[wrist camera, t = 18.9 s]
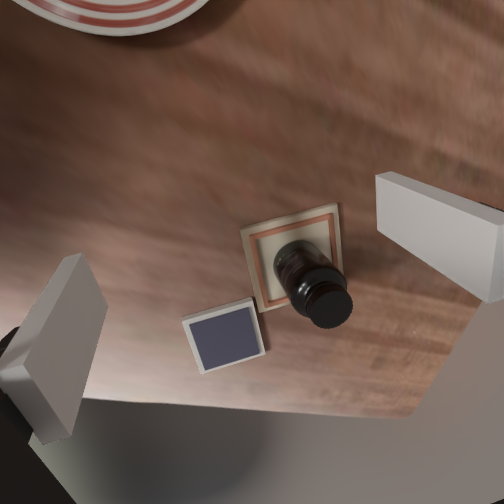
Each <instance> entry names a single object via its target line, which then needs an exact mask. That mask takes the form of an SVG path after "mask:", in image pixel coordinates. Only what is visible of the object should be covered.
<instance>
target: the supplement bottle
mask: <svg viewBox="0 0 504 504" xmlns="http://www.w3.org/2000/svg"><path fill="white" fill-rule="evenodd" d="M273 270H274V274H275V276H276V278H277V280H278V282H279V283H280V285H281V287H282V289H283V290H284V292H285V294H286V296H287V297H288V299H289V301H290V303H291V304H292V306H293V308H294V309H295V310H296V311H297V312H298V313H299V314H301V315H302V316H305V317H308V318H310V319H311V320H312V322H313V323H314V324H315V325H317V326H318V327H320V328H324V329H326V328H328V329H330V328H334V327H337V326H339V325H341V324H342V323H344V322H345V321H346V320H347V319H348V317H349V316H350V314H351V313H352V309H353V308H352V307H353V304H352V303H353V301H352V299H351V297H350V295H349V294H348V293H347V283H346V279H345V277H344V275H343V274H342V273H341V272H340V270H339V269H338V268H337V267H336V266H335V265H334V264H333V263H332V262H331V261H330V260H329V259H328V258H327V257H326V256H325V255H324V254H323V253H322V252H321V251H320V250H319V249H318V248H317V247H316V246H315V245H314V244H312V243H311V242H308V241H305V240H296V241H292V242H289V243H287V244H286V245H284V246H283V247H282V248H281V249H280V250H279V251H278V252H277V254H276V256H275V258H274V262H273Z"/></svg>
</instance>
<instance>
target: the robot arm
mask: <svg viewBox="0 0 504 504" xmlns="http://www.w3.org/2000/svg"><path fill="white" fill-rule="evenodd" d="M375 177H376V206H377V230H378V231H379V232H381V233H382V234H384V235H385V236H387V237H388V238H390V239H391V240H393V241H394V242H396V243H397V244H399V245H400V246H402V247H403V248H405V249H406V250H408V251H409V252H411V253H412V254H414V255H415V256H417V257H418V258H420V259H421V260H423V261H424V262H426V263H427V264H429V265H430V266H431V267H433V268H434V269H436V270H437V271H439V272H440V273H442V274H443V275H445V276H446V277H448V278H449V279H451V280H452V281H454V282H455V283H457V284H458V285H460V286H461V287H463V288H464V289H466V290H467V291H469V292H470V293H472V294H473V295H475V296H476V297H478V298H479V299H481V300H482V301H484V302H485V303H487V304H490V303H493V302H496V301H499V300H502V299H504V211H503V210H500V209H498V208H494V207H492V206H489V205H487V204H484V203H480V202H474V201H471V200H469V199H466V198H463V197H460V196H458V195H455V194H452V193H449V192H447V191H444V190H441V189H438V188H436V187H433V186H430V185H427V184H425V183H422V182H419V181H416V180H414V179H411V178H408V177H405V176H403V175H400V174H397V173H394V172H392V171H390V172H386V173H382V174H379V175H375ZM107 308H108V305H107V303H106V300H105V298H104V296H103V294H102V292H101V290H100V288H99V286H98V284H97V281H96V279H95V277H94V275H93V273H92V271H91V269H90V267H89V264H88V262H87V260H86V258H85V256H84V254H83V252H82V253H79V254H75V255H71V256H67V257H64V258H63V260H62V261H61V263H60V264H59V266H58V268H57V269H56V271H55V272H54V274H53V276H52V277H51V279H50V280H49V282H48V283H47V285H46V287H45V288H44V290H43V291H42V293H41V294H40V296H39V298H38V299H37V301H36V302H35V304H34V306H33V307H32V309H31V310H30V312H29V313H28V315H27V317H26V318H25V320H24V321H23V323H22V325H21V326H19V327H16V328H14V329H13V330H12V331H11V332H9V333H8V334H7V335H6V336H5V337H4V338H3V339H2V340H1V341H0V504H76V502H75V501H74V500H73V499H72V498H71V496H70V495H69V494H68V493H67V492H66V490H65V489H64V488H63V486H62V485H61V484H60V483H59V481H58V480H57V479H56V478H55V477H54V475H53V474H52V473H51V472H50V470H49V469H48V468H47V467H46V465H45V464H44V463H43V462H42V460H41V459H40V458H39V457H38V456H37V454H36V453H35V452H34V451H33V449H32V448H31V447H30V446H29V444H28V442H29V440H30V437H31V435H32V432H34V434H35V435H36V436H37V438H38V439H39V440H40V442H41V443H42V444H43V445H45V444H48V443H51V442H54V441H57V440H61V439H63V438H67V437H70V436H71V434H72V431H73V427H74V424H75V420H76V417H77V413H78V410H79V406H80V402H81V399H82V396H83V392H84V389H85V385H86V382H87V378H88V375H89V371H90V368H91V364H92V361H93V357H94V354H95V350H96V347H97V343H98V340H99V336H100V333H101V329H102V326H103V322H104V318H105V315H106V311H107ZM492 504H504V499H502V500H499V501H497V502H494V503H492Z"/></svg>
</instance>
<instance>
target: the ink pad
mask: <svg viewBox="0 0 504 504" xmlns="http://www.w3.org/2000/svg"><path fill="white" fill-rule="evenodd" d="M181 319H182V324H183V327H184V329H185V332H186V335H187V338H188V340H189V343H190V346H191V349H192V351H193V354H194V357H195V360H196V362H197V365H198V368H199V371H200V373H201V374H204V373H207V372H210V371H213V370H216V369H220V368H223V367H226V366H229V365H233V364H236V363H239V362H242V361H245V360H249V359H252V358H255V357H258V356H262V355H265V350H264V346H263V341H262V337H261V333H260V329H259V325H258V320H257V316H256V312H255V308H254V303H253V300H252V297H248V298H245V299H242V300H238V301H235V302H231V303H228V304H224V305H221V306H218V307H214V308H211V309H207V310H204V311H200V312H197V313H194V314H190V315H187V316H183V317H181Z"/></svg>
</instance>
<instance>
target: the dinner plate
mask: <svg viewBox="0 0 504 504" xmlns="http://www.w3.org/2000/svg"><path fill="white" fill-rule="evenodd" d="M13 1H14V2H16V3H17V4H19V5H21V6H22V7H24V8H26V9H27V10H29V11H31V12H33V13H34V14H37V15H39V16H41V17H43V18H45V19H47V20H49V21H52V22H54V23H57V24H59V25H62V26H65V27H68V28H71V29H75V30H79V31H82V32H87V33H92V34H97V35H107V36H131V35H138V34H144V33H149V32H153V31H157V30H160V29H163V28H166V27H168V26H171V25H173V24H175V23H177V22H179V21H181V20H183V19H185V18H186V17H188V16H190V15H191V14H192V13H194V12H195V11H197V10H198V9H199V8H201V7H202V6H203V5H204V4H205V3H206V2H208V1H209V0H13Z"/></svg>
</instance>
